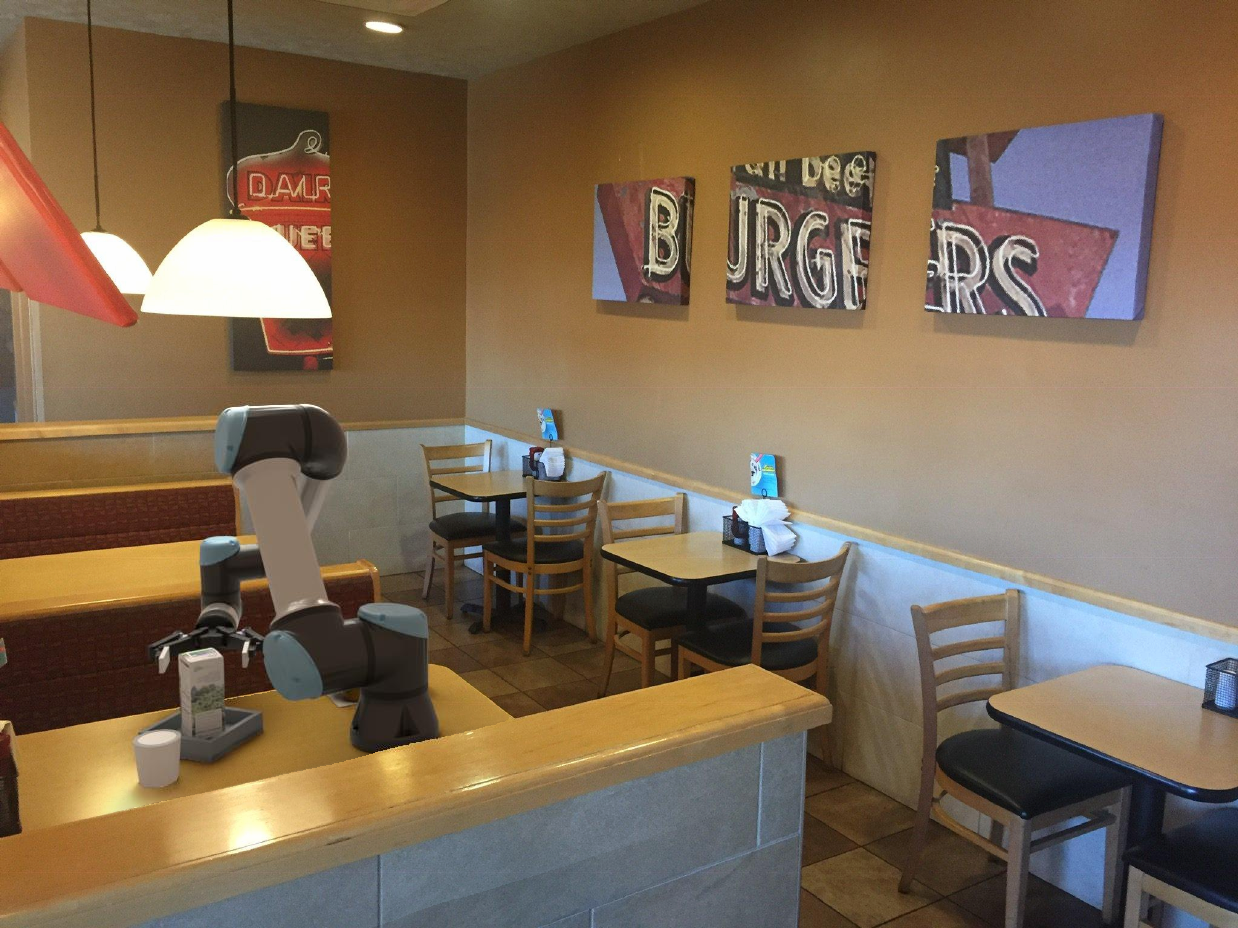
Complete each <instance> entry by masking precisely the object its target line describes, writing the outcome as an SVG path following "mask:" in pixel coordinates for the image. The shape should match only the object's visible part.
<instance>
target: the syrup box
mask: <svg viewBox="0 0 1238 928" xmlns="http://www.w3.org/2000/svg"><path fill="white" fill-rule="evenodd" d="M177 656H178V658H177V659H178V679H179V680H178V682H179V706H180V707H179V710H180V718H181V733H182V734H183V735H184V736H187V737H194V738H201V739H208V740H209V739H211V738H213V737H215V736H216V735H218V734H220V733H221V732H223V731H225V707H226V705H225V663H224V662H225V661H224V656H223V655H222V654H221V653H220V651H216V650H215V649H213V648H208V649H201V650H197V651H192V652H191V651H189V652H186V653H182V654H179V655H177Z"/></svg>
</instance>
